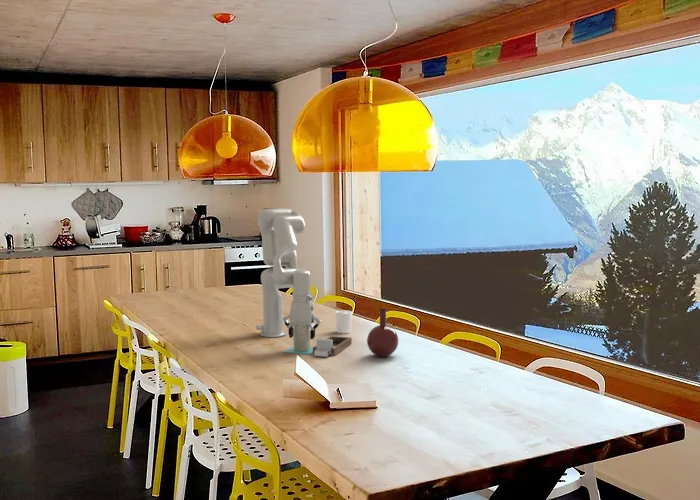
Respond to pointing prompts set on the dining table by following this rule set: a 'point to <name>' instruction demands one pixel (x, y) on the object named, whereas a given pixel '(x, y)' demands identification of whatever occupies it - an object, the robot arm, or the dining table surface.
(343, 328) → the white cup
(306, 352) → the coaster
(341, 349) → the brown rectangular frame
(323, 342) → the brushed steel block
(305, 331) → the skincare box
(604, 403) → the dining table surface
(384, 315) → the round-bottom flask
